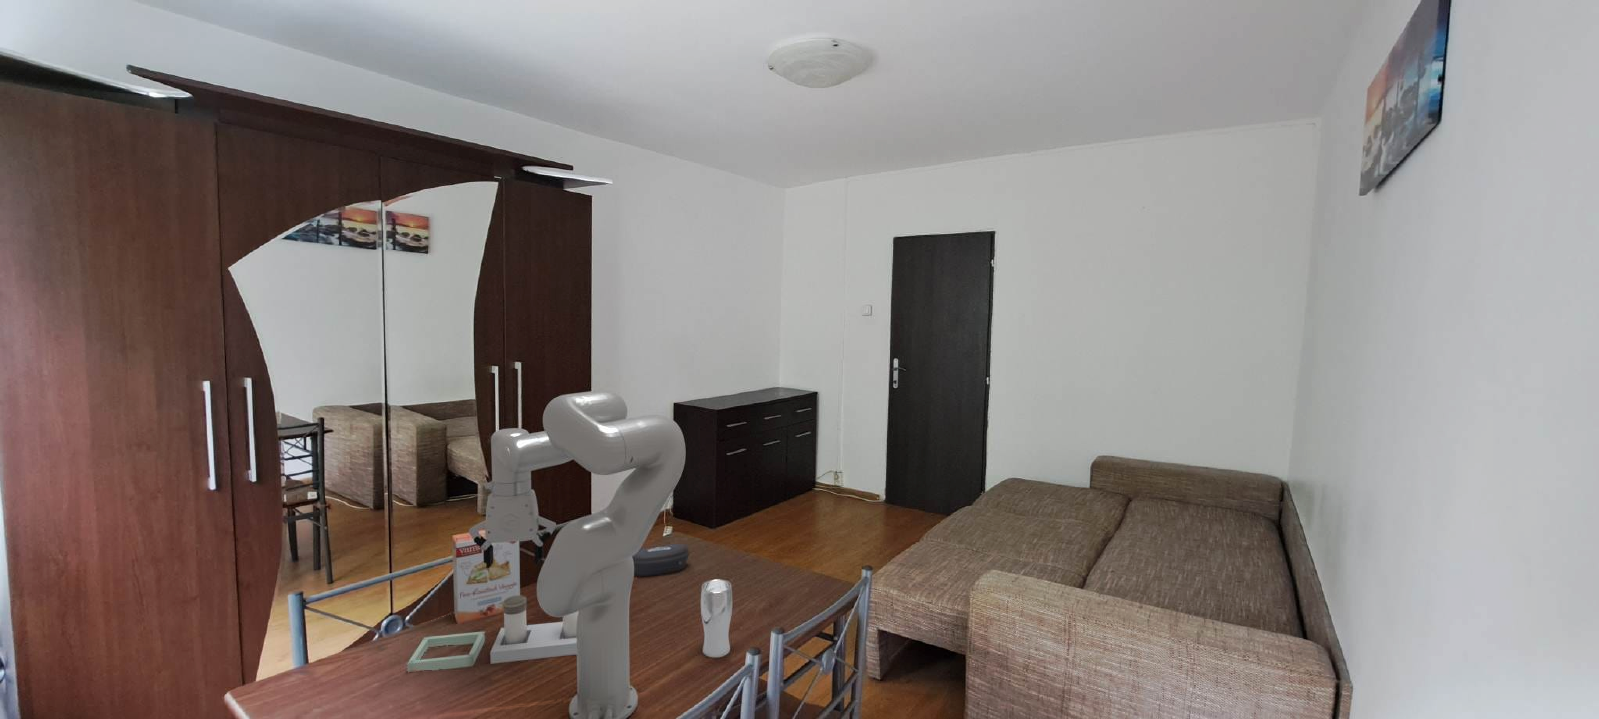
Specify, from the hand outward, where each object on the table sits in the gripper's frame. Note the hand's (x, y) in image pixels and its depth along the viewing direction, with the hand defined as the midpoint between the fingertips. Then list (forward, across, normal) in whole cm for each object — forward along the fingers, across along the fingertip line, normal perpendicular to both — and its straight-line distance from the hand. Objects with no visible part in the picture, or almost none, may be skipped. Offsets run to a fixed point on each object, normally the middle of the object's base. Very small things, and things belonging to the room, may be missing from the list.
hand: (514, 563), depth 135 cm
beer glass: (+20, +43, -8) cm, 48 cm away
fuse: (+19, +12, 0) cm, 23 cm away
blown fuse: (+19, 0, 0) cm, 19 cm away
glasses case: (+21, +31, +37) cm, 52 cm away
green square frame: (+20, -14, 0) cm, 24 cm away
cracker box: (+20, -10, +19) cm, 30 cm away
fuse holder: (+20, +6, 0) cm, 21 cm away
